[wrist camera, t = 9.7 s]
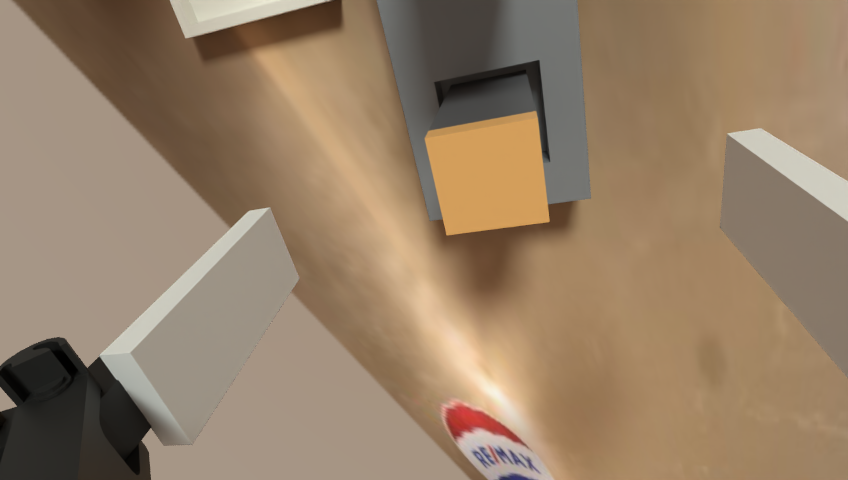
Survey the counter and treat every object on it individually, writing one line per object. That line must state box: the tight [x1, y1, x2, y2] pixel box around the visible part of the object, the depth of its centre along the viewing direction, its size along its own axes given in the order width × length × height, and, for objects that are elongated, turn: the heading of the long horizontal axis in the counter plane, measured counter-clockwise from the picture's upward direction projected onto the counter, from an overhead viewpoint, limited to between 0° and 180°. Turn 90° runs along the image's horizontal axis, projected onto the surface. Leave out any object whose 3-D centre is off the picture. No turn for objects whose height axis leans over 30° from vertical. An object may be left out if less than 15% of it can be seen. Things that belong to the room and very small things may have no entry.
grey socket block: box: [377, 0, 591, 221], centre depth 24 cm, size 20×9×4 cm, turn 13°
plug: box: [425, 70, 550, 235], centre depth 22 cm, size 4×4×10 cm
